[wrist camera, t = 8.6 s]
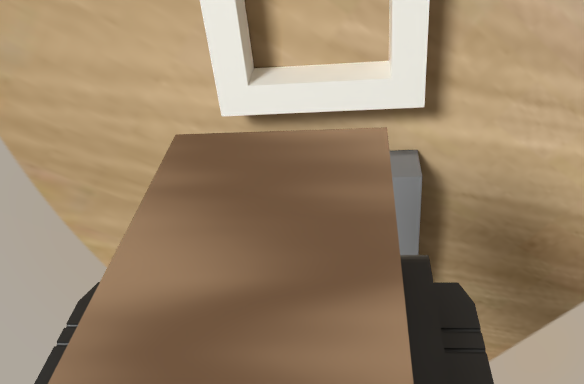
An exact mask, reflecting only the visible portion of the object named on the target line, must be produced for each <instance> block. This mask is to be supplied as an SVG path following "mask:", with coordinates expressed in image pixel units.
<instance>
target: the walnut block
mask: <svg viewBox="0 0 584 384" xmlns="http://www.w3.org/2000/svg"><path fill="white" fill-rule="evenodd" d="M48 384H414V383H413V374H412V364H411V354H410V345H409V335H408V325H407V316H406V306H405V297H404V287H403V277H402V268H401V258H400V249H399V239H398V229H397V220H396V210H395V200H394V191H393V181H392V172H391V162H390V152H389V143H388V133H387V127H386V128H357V129H328V130H299V131H270V132H240V133H211V134H182V135H175V137H174V139H173V141H172V143H171V145H170V147H169V149H168V151H167V153H166V155H165V157H164V159H163V160H162V162H161V164H160V166H159V168H158V170H157V172H156V174H155V176H154V178H153V180H152V182H151V184H150V186H149V188H148V190H147V192H146V194H145V196H144V197H143V199H142V201H141V203H140V205H139V207H138V209H137V211H136V213H135V215H134V217H133V219H132V221H131V223H130V225H129V227H128V229H127V231H126V233H125V234H124V236H123V238H122V240H121V242H120V244H119V246H118V248H117V250H116V252H115V254H114V256H113V258H112V260H111V262H110V264H109V266H108V268H107V270H106V271H105V274H104V275H103V277H102V280H101V281H100V283H99V285H98V287H97V289H96V291H95V293H94V295H93V297H92V299H91V301H90V303H89V305H88V307H87V308H86V310H85V312H84V314H83V316H82V318H81V320H80V322H79V324H78V326H77V328H76V330H75V332H74V334H73V336H72V338H71V340H70V342H69V344H68V345H67V347H66V349H65V351H64V353H63V355H62V357H61V359H60V361H59V363H58V365H57V367H56V369H55V371H54V373H53V375H52V377H51V379H50V381H49V382H48Z"/></svg>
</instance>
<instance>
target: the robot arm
mask: <svg viewBox="0 0 584 384" xmlns="http://www.w3.org/2000/svg"><path fill="white" fill-rule="evenodd" d="M400 258H401V268H402V277H403V287H404V297H405V306H406V316H407V325H408V335H409V345H410V354H411V364H412V374H413V383H414V384H494V383H493V378H492V374H491V370H490V366H489V362H488V357H487V354H486V352H485V345H484V341H483V336H482V333H481V331H480V329H481V328H480V324H479V320H478V315H477V311H476V307H475V303H474V302H473V301H472V300H471V298H470V297H469V296H468V295H467V293H466V292H465V291H464V290H463V288H462V287H461V286H460V284H459V283H433V278H432V272H431V266H430V260H429V256H428V255H400ZM99 283H100V282H98V283H97V284H96V285H95V286H94V287H93V288H92V289H91V290H90V291H89V292H88V293H87V294H86V295H85V296H84V297H83V298H82V299H80V300H79V301H78V303H77V305H76V307H75V309H74V311H73V313H72V314H71V316H70V318H69V320H68V322H67V327H66V328H64V329H63V331H62V333H61V335H60V337H59V339H58V340H57V346H56V347H54V348H53V350H52V352H51V354H50V355H49V357H48V359H47V361H46V363H45V365H44V367H43V369H42V370H41V372H40V374H39V376H38V378H37V380H36V381H35V383H34V384H48V382H49V381H50V379H51V377H52V375H53V373H54V371H55V369H56V367H57V365H58V363H59V361H60V359H61V357H62V355H63V353H64V351H65V349H66V347H67V345H68V344H69V342H70V340H71V338H72V336H73V334H74V332H75V330H76V328H77V326H78V324H79V322H80V320H81V318H82V316H83V314H84V312H85V310H86V308H87V307H88V305H89V303H90V301H91V299H92V297H93V295H94V293H95V291H96V289H97V287H98V285H99Z"/></svg>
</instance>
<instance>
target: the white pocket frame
mask: <svg viewBox="0 0 584 384" xmlns="http://www.w3.org/2000/svg"><path fill="white" fill-rule="evenodd" d="M429 2H430V0H389V61H377V62H359V63H341V64H323V65H305V66H286V67H268V68H254V64H253V57H252V50H251V43H250V36H249V29H248V21H247V14H246V7H245V0H200V4H201V9H202V14H203V20H204V25H205V30H206V36H207V41H208V46H209V52H210V57H211V62H212V68H213V73H214V78H215V84H216V89H217V94H218V100H219V105H220V110H221V116H240V115H262V114H284V113H307V112H329V111H351V110H374V109H396V108H419V107H424V104H425V83H426V63H427V42H428V22H429Z"/></svg>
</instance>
